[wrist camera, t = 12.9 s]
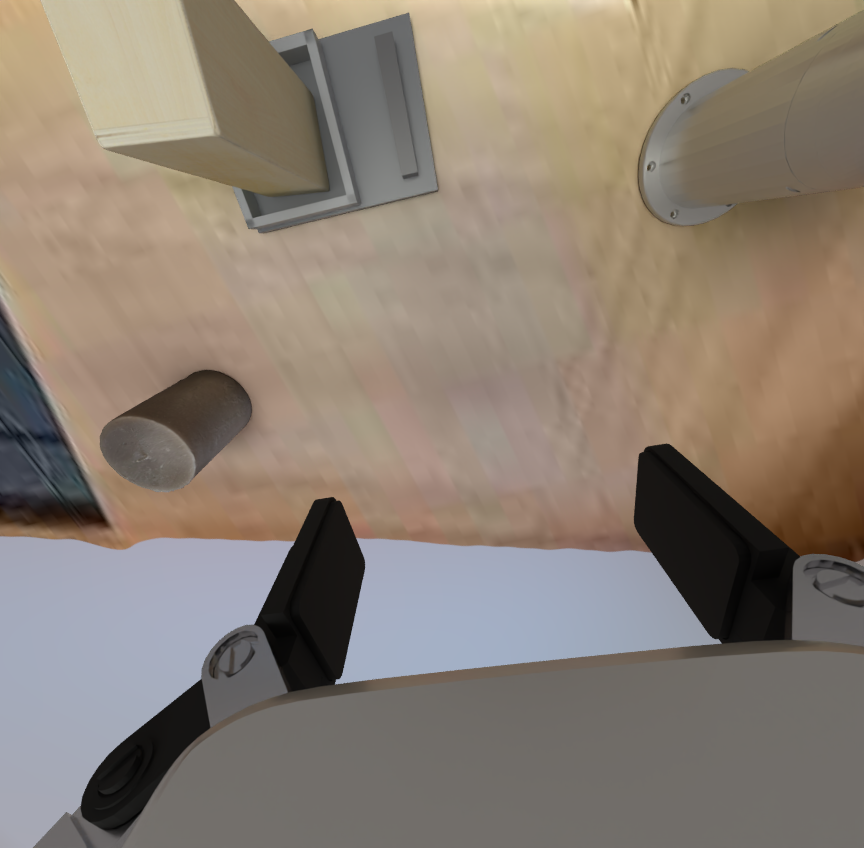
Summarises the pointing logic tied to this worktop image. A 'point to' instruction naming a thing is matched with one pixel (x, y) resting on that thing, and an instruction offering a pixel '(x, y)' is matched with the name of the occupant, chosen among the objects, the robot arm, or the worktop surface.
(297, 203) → the tray
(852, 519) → the worktop surface
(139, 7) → the beige tall block
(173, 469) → the pillar candle
